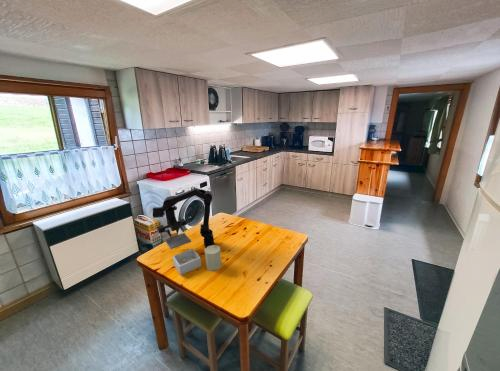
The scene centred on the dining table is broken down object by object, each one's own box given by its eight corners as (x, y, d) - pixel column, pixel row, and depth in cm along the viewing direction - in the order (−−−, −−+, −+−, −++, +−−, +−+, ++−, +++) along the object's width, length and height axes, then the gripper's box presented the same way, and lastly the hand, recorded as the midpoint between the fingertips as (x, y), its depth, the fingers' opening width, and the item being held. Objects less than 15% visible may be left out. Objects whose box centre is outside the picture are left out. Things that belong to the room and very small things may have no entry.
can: (224, 262, 135) (222, 245, 132) (217, 272, 127) (215, 254, 123) (211, 259, 138) (209, 243, 134) (203, 268, 130) (201, 251, 126)
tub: (193, 256, 142) (192, 248, 140) (201, 265, 133) (200, 257, 131) (173, 264, 134) (172, 256, 133) (180, 275, 125) (179, 266, 123)
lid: (182, 231, 153) (181, 227, 152) (191, 241, 140) (190, 237, 139) (162, 238, 145) (162, 234, 145) (170, 249, 133) (170, 245, 132)
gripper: (159, 224, 131) (163, 247, 136) (188, 216, 142) (191, 237, 147) (154, 218, 140) (158, 239, 145) (182, 210, 150) (185, 230, 155)
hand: (173, 236), depth 148 cm, fingers closed on lid, 4 cm apart
